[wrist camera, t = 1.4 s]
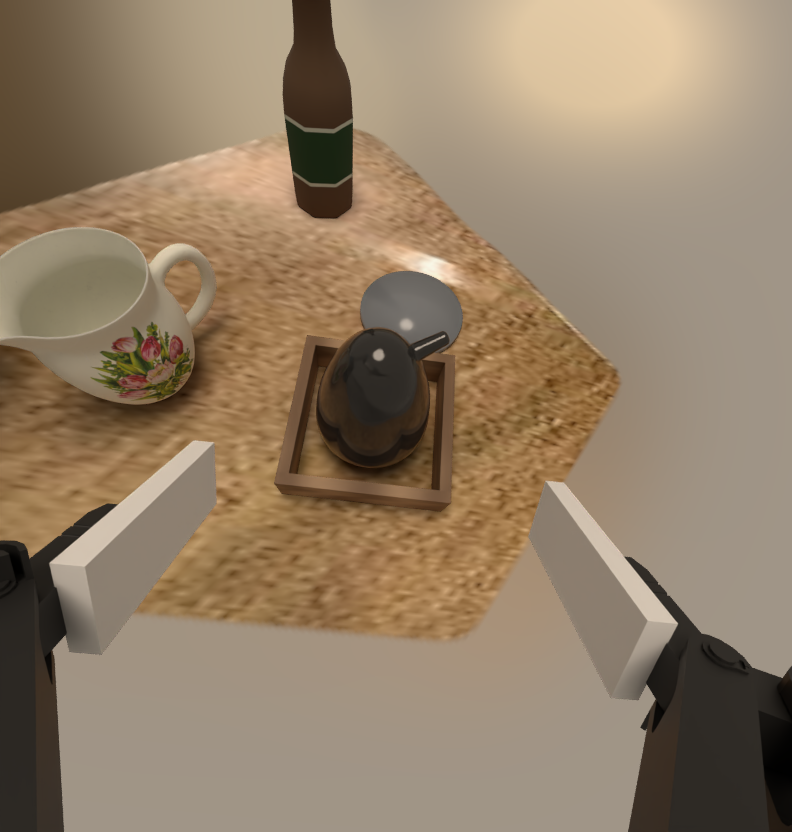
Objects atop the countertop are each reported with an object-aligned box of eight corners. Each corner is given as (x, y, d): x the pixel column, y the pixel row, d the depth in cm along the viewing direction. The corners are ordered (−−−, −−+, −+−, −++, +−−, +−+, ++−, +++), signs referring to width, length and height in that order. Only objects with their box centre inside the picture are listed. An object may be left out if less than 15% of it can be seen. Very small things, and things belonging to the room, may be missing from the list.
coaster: (353, 350, 43) (354, 346, 42) (366, 269, 48) (367, 264, 47) (459, 365, 43) (461, 361, 43) (461, 283, 48) (463, 278, 48)
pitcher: (267, 344, 42) (231, 241, 29) (118, 464, 35) (-10, 398, 23) (198, 288, 44) (138, 169, 31) (45, 392, 37) (-110, 294, 25)
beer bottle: (339, 175, 54) (331, -104, 32) (363, 212, 52) (373, -62, 30) (286, 187, 52) (239, -102, 30) (309, 227, 49) (276, -57, 28)
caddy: (281, 493, 36) (274, 483, 32) (310, 356, 42) (307, 335, 38) (440, 511, 37) (450, 503, 33) (446, 374, 43) (455, 355, 39)
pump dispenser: (437, 458, 39) (485, 388, 25) (337, 493, 36) (330, 437, 22) (400, 373, 42) (424, 271, 28) (307, 400, 40) (284, 302, 26)
